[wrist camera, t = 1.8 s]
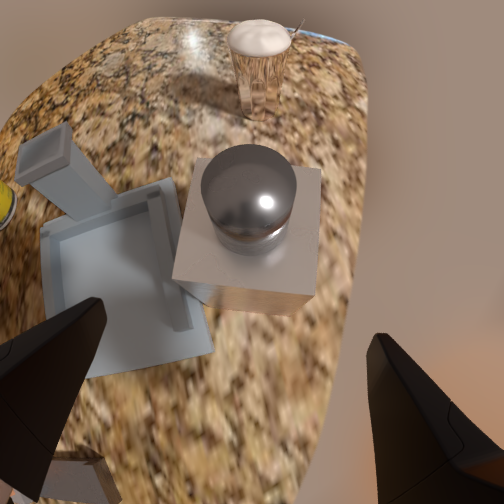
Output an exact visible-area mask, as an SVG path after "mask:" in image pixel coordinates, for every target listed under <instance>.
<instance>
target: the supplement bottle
mask: <svg viewBox="0 0 504 504" xmlns="http://www.w3.org/2000/svg"><path fill="white" fill-rule="evenodd" d="M16 205H17V197H16V194H15V192H14V191H13V190H12V189H11V188H10V187H9V186H7V185H6V184H5V183H4V182H2V181H1V180H0V230H2V229H3V228H4V227H5V226H6V225H7V224H8V223H9V222H10V220H11V219H12V217H13V215H14V213H15V210H16Z"/></svg>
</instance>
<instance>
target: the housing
mask: <svg viewBox="0 0 504 504" xmlns="http://www.w3.org/2000/svg"><path fill="white" fill-rule="evenodd" d="M320 198H321V169H316V168H308V167H300V166H292V165H290V163H289V162H288V161H287V160H286V159H285V158H284V157H283V156H282V155H281V154H279V153H278V152H277V151H275V150H273V149H271V148H268V147H265V146H261V145H255V144H245V145H238V146H234V147H231V148H228V149H226V150H224V151H222V152H221V153H219V154H218V155H217V156H215V157H214V158H213V159H212V158H197V160H196V164H195V168H194V172H193V177H192V181H191V185H190V189H189V194H188V198H187V203H186V207H185V212H184V217H183V222H182V226H181V231H180V236H179V241H178V246H177V252H176V257H175V262H174V268H173V273H172V280H174V281H175V282H176V283H178V284H179V285H180V286H182V287H183V288H184V289H185V290H187V291H188V292H189V293H191V294H192V295H193V296H195V297H196V298H197V299H199V300H200V301H201V302H203V303H204V304H205V305H207V306H208V307H211V308H218V309H226V310H234V311H242V312H250V313H259V314H268V315H277V316H287V317H290V316H291V315H293V314H294V313H295V312H296V311H297V310H299V309H300V308H301V307H302V306H303V305H305V304H306V303H307V302H308V301H309V300H310V299H312V298H313V297H314V296H315V288H316V275H317V260H318V243H319V224H320Z"/></svg>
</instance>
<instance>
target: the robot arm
mask: <svg viewBox="0 0 504 504" xmlns="http://www.w3.org/2000/svg"><path fill="white" fill-rule="evenodd" d="M106 324H107V314H106V310H105V306H104V302H103V300H102V299H101V298H98V297H89V298H87V299H85V300H83V301H81V302H79V303H78V304H76V305H74V306H72V307H70V308H68V309H66V310H64V311H62V312H60V313H59V314H57V315H55V316H53V317H51V318H49V319H47V320H46V321H44V322H42V323H40V324H38V325H36V326H34V327H33V328H31V329H29V330H27V331H25V332H23V333H22V334H20V335H18V336H16V337H14V339H11V340H9V341H7V342H5V343H3V344H2V345H0V504H14V503H13V500H12V498H11V497H10V495H11V493H12V490H13V488H14V489H15V490H17V491H18V492H20V493H21V494H23V495H24V496H26V497H28V498H29V499H31V500H32V501H34V502H36V503H37V502H38V500H39V497H40V494H41V491H42V488H43V485H44V482H45V479H46V476H47V473H48V470H49V467H50V464H51V461H52V458H53V455H54V452H55V450H56V447H57V444H58V442H59V439H60V436H61V434H62V431H63V429H64V426H65V424H66V421H67V419H68V416H69V414H70V412H71V409H72V407H73V404H74V402H75V400H76V397H77V395H78V393H79V391H80V388H81V386H82V384H83V382H84V379H85V377H86V375H87V373H88V371H89V368H90V366H91V364H92V362H93V360H94V357H95V355H96V352H97V349H98V346H99V343H100V340H101V338H102V335H103V332H104V329H105V327H106ZM366 358H367V385H368V402H369V410H370V417H371V425H372V433H373V443H374V452H375V464H376V476H377V490H378V504H504V450H503V449H501V448H500V447H499V446H498V445H496V444H495V443H494V442H493V441H492V440H491V439H490V438H489V437H488V436H487V435H486V434H485V433H483V432H482V431H481V430H480V429H479V428H478V427H477V426H476V425H475V424H474V423H473V422H472V421H471V420H470V419H469V418H468V417H467V416H466V415H465V414H464V413H463V412H462V411H461V410H460V409H459V408H458V407H457V406H456V405H455V404H454V403H453V402H452V401H451V399H450V398H449V397H448V396H447V395H446V394H445V393H444V392H443V391H442V390H441V389H440V388H439V387H438V385H437V384H436V383H435V382H434V381H433V380H432V379H431V378H430V377H429V376H428V375H427V374H426V373H425V372H424V371H423V370H422V368H421V367H420V366H419V365H418V364H417V363H416V362H415V361H414V360H413V359H412V358H411V357H410V356H409V355H408V354H407V353H406V352H405V351H404V350H403V349H402V348H401V347H400V346H399V345H398V344H397V343H396V342H395V341H394V339H392V337H390V336H389V335H388V334H387V333H376V334H375V335H374V336H373V339H372V341H371V343H370V346H369V348H368V351H367V355H366Z"/></svg>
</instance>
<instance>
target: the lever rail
mask: <svg viewBox="0 0 504 504" xmlns="http://www.w3.org/2000/svg"><path fill="white" fill-rule="evenodd" d="M40 497H45V498H51V499H58V500H65V501H73V502H83V503H94V504H119V503H120V502H121V501H122V498H121V496H120V494H119V492H118V490H117V487H116V485H115V483H114V480H113V478H112V476H111V473H110V471H109V468H108V466H107V463H106V461H105V458H60V457H53V458H52V461H51V464H50V467H49V470H48V473H47V476H46V479H45V482H44V485H43V488H42V491H41V494H40Z"/></svg>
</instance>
